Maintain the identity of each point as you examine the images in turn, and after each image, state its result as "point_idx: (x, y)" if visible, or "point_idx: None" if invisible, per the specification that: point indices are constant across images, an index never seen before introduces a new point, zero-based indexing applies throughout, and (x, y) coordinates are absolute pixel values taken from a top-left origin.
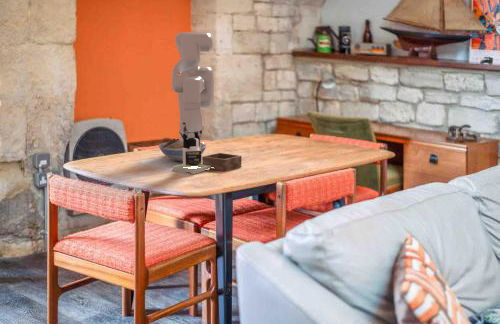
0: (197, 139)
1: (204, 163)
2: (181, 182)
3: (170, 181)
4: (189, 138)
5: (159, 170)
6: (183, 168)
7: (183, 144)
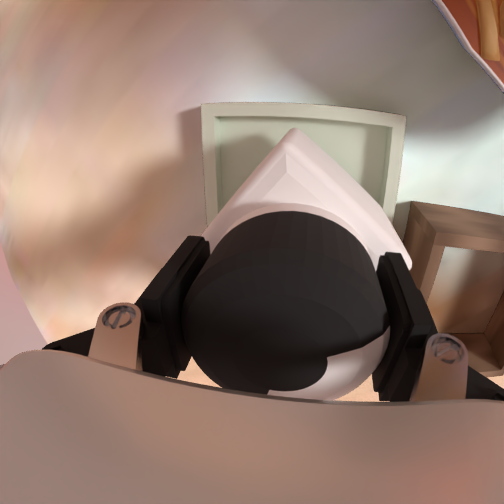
0: None
1: (416, 230)
2: (84, 304)
3: (63, 266)
4: (230, 353)
5: (160, 47)
6: (206, 202)
7: (175, 253)
